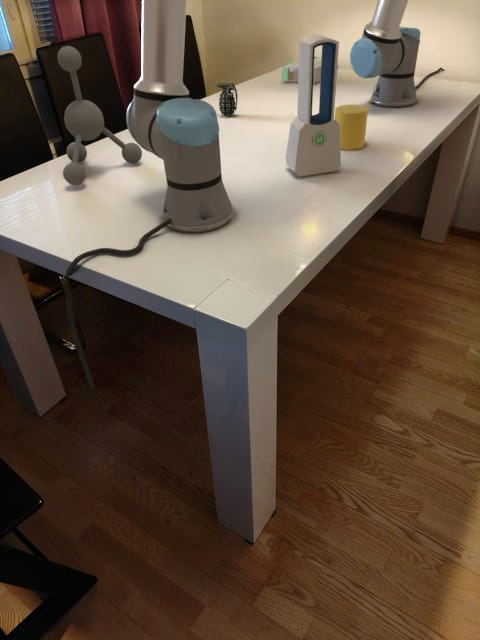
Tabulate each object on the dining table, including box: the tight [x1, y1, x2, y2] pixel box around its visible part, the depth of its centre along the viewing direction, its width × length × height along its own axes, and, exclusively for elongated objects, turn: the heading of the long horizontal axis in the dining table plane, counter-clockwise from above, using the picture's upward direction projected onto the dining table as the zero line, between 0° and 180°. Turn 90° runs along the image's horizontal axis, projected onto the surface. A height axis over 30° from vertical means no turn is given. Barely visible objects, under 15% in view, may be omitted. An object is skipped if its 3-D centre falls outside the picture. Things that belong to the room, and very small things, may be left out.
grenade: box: [215, 82, 238, 117], centre depth 166 cm, size 7×6×10 cm
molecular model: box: [57, 45, 143, 186], centre depth 125 cm, size 24×22×30 cm
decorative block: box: [281, 55, 339, 85], centre depth 206 cm, size 26×6×20 cm
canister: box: [334, 104, 369, 151], centre depth 137 cm, size 9×9×10 cm
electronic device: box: [285, 34, 342, 178], centre depth 117 cm, size 12×8×30 cm, turn 105°
